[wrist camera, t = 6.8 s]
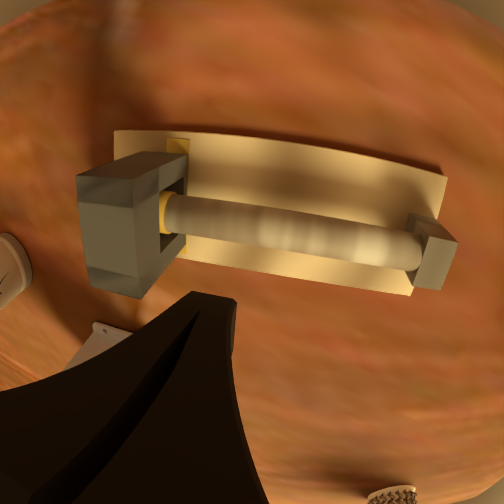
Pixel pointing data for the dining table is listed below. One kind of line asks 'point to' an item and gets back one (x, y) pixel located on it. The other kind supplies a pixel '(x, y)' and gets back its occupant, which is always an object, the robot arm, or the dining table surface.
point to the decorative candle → (394, 495)
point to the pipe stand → (302, 210)
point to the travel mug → (12, 269)
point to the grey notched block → (129, 220)
